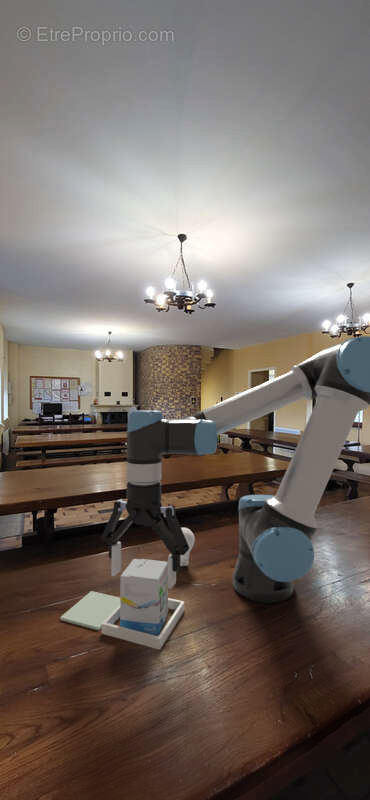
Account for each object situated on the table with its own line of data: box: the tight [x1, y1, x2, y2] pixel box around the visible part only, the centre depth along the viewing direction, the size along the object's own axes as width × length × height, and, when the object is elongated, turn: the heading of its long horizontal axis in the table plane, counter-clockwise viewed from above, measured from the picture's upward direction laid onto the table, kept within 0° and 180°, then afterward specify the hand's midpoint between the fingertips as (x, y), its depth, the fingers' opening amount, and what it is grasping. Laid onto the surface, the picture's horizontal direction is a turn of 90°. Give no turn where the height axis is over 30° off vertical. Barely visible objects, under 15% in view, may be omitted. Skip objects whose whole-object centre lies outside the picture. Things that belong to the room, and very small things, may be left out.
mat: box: [59, 590, 120, 631], centre depth 78 cm, size 10×11×1 cm
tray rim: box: [101, 597, 186, 650], centre depth 74 cm, size 13×13×2 cm
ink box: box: [119, 558, 169, 636], centre depth 74 cm, size 8×8×12 cm
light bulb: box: [180, 527, 196, 567], centre depth 98 cm, size 7×7×11 cm
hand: (143, 579), depth 74 cm, fingers open, 13 cm apart
